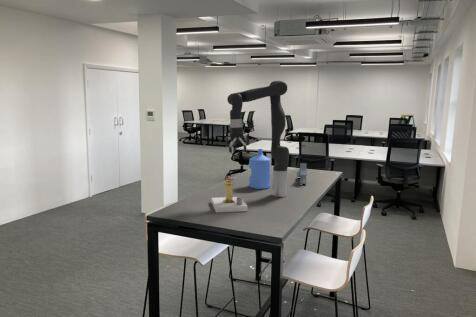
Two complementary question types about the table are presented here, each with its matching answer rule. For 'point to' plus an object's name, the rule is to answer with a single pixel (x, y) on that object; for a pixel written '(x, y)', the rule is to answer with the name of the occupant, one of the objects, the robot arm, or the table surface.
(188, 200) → the table surface
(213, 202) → the plate
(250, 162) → the water jug
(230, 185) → the valve
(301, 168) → the faucet
